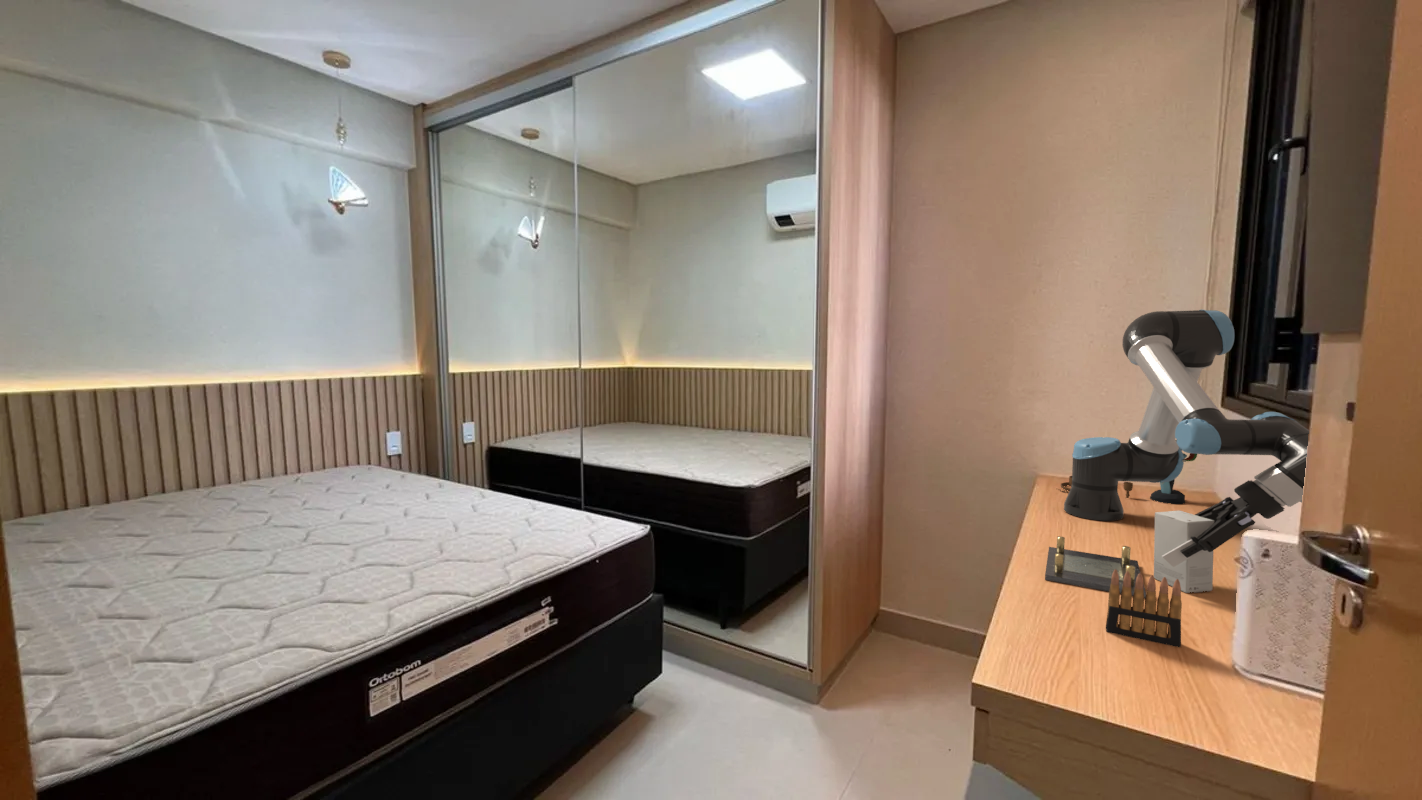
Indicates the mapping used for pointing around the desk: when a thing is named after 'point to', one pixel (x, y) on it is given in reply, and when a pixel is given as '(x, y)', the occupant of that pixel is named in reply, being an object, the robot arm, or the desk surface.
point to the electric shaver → (1171, 488)
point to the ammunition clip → (1145, 611)
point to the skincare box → (1173, 533)
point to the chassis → (1089, 568)
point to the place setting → (1127, 486)
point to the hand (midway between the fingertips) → (1164, 553)
